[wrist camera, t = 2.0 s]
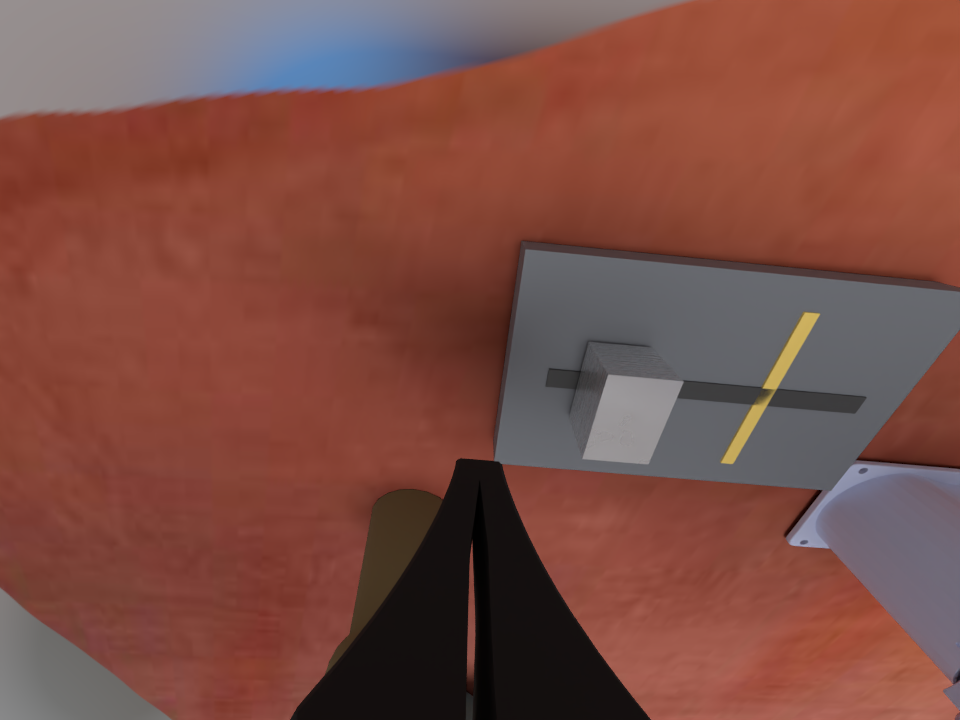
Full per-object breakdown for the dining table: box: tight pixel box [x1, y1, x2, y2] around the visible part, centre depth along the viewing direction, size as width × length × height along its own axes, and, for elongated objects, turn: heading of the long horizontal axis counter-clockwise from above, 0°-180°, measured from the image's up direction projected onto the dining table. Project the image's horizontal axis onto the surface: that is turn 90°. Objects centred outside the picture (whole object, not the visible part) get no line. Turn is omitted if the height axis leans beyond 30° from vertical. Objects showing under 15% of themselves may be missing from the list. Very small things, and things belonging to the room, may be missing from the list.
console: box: [493, 241, 960, 491], centre depth 19 cm, size 20×12×2 cm, turn 85°
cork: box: [325, 489, 443, 675], centre depth 21 cm, size 6×6×11 cm
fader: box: [569, 342, 684, 464], centre depth 16 cm, size 3×4×3 cm
